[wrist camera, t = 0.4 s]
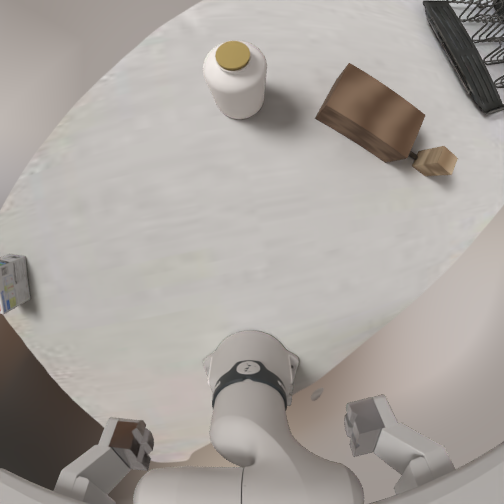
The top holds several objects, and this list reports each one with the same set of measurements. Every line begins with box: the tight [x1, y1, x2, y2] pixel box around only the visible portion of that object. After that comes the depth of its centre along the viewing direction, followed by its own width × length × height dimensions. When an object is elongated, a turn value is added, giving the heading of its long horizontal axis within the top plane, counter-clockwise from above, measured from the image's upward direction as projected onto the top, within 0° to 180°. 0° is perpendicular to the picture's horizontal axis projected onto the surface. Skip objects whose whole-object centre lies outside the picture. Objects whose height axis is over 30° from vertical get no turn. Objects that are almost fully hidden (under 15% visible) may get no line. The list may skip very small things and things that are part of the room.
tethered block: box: [409, 146, 458, 176], centre depth 43 cm, size 21×5×9 cm, turn 62°
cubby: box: [315, 63, 425, 163], centre depth 42 cm, size 15×9×8 cm, turn 62°
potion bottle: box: [203, 40, 267, 119], centre depth 37 cm, size 8×8×18 cm
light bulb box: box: [0, 254, 31, 314], centre depth 48 cm, size 11×7×11 cm, turn 176°
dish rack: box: [423, 0, 504, 114], centre depth 35 cm, size 34×44×12 cm
